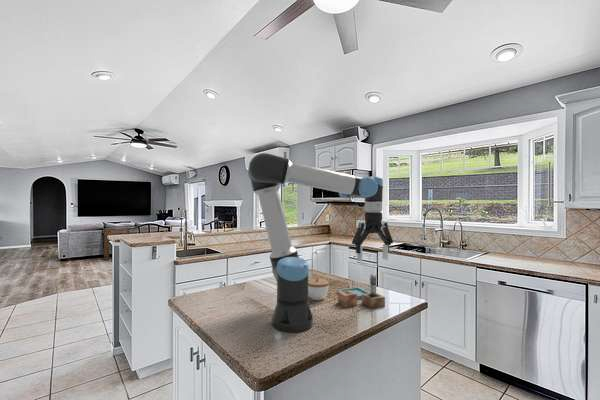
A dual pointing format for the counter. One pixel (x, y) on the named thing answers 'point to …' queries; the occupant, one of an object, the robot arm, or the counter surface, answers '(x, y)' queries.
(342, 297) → the block
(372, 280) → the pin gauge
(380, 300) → the block
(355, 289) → the tray
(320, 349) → the counter surface
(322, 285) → the lidded jar
